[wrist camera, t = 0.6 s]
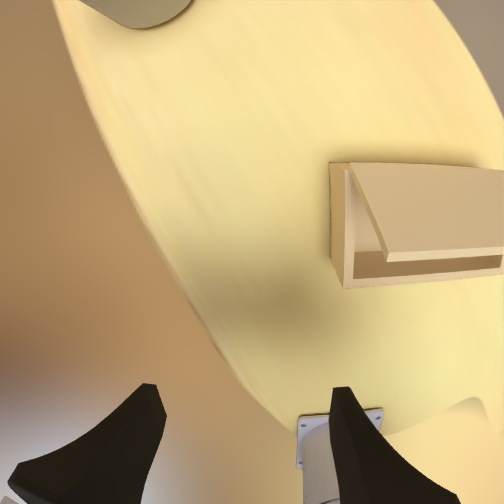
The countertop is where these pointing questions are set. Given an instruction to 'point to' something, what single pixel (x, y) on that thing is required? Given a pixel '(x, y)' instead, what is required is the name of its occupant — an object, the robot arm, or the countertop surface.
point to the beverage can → (138, 11)
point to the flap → (433, 209)
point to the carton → (370, 252)
